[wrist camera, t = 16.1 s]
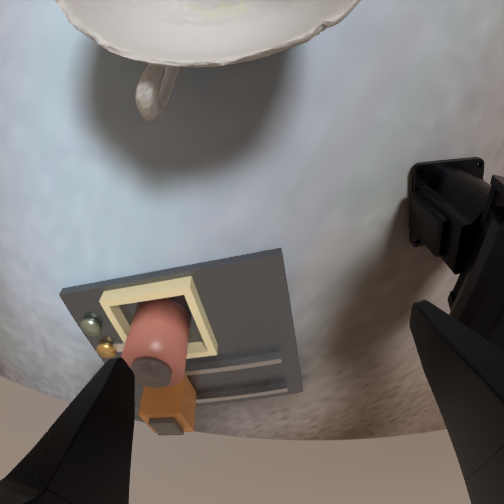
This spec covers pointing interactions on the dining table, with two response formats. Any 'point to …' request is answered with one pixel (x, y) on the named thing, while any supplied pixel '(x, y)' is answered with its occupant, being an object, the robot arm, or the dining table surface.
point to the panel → (215, 326)
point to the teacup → (197, 34)
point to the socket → (160, 291)
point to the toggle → (169, 408)
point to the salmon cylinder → (158, 343)
